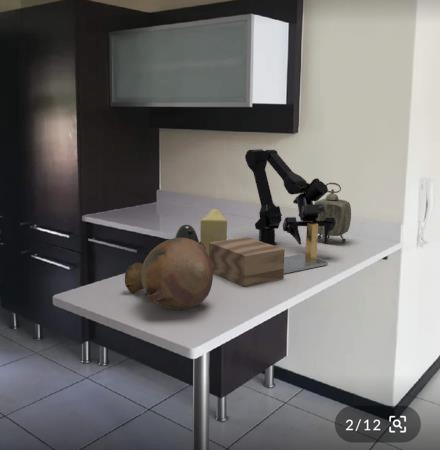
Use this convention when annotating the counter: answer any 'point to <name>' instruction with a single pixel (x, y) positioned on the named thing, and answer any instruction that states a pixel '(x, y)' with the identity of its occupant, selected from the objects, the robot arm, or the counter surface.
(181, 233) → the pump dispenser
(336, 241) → the counter surface
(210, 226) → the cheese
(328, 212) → the tabletop clock
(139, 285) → the jug
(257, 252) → the brown wooden block
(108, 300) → the counter surface
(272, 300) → the counter surface
